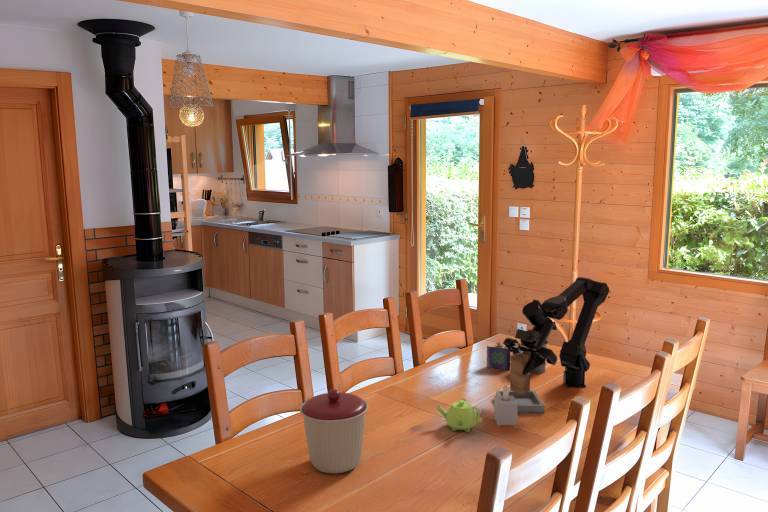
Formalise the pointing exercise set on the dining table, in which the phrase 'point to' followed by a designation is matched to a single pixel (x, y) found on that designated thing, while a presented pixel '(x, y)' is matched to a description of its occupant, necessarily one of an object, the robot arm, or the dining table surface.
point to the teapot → (461, 415)
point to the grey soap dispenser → (505, 408)
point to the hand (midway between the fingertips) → (517, 372)
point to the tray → (526, 402)
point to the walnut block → (519, 373)
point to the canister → (334, 430)
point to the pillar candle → (540, 368)
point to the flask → (498, 357)
